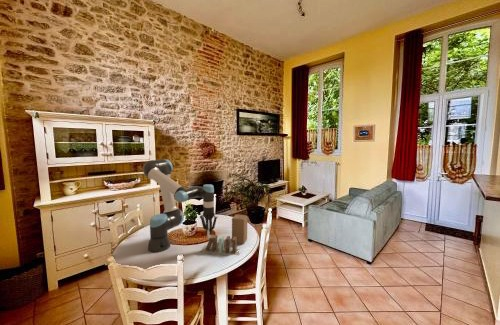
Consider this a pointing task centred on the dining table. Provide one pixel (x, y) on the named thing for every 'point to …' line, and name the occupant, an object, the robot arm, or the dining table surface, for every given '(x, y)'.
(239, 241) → the block
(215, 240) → the domino
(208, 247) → the domino
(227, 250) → the domino
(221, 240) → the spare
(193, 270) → the dining table surface
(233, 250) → the domino
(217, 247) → the runner
